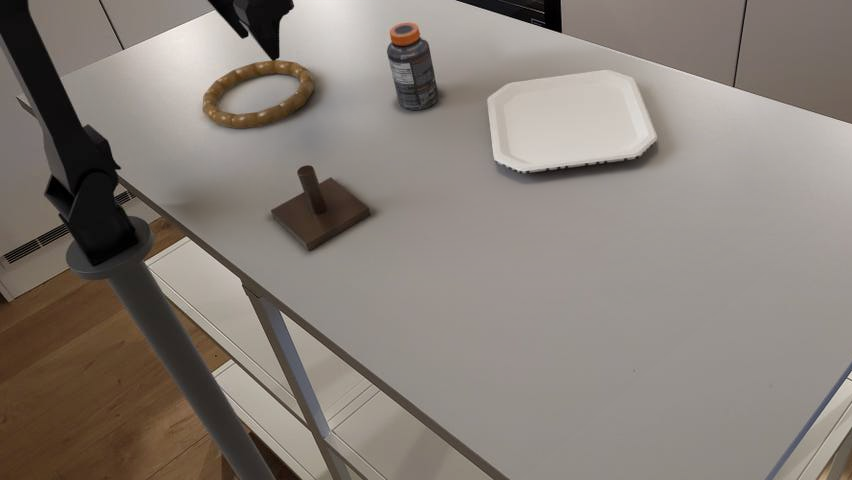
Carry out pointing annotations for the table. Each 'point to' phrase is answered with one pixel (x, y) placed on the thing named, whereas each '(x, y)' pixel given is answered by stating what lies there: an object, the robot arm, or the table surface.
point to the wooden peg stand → (319, 210)
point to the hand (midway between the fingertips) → (260, 47)
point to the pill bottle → (411, 67)
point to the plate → (569, 122)
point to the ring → (264, 115)
